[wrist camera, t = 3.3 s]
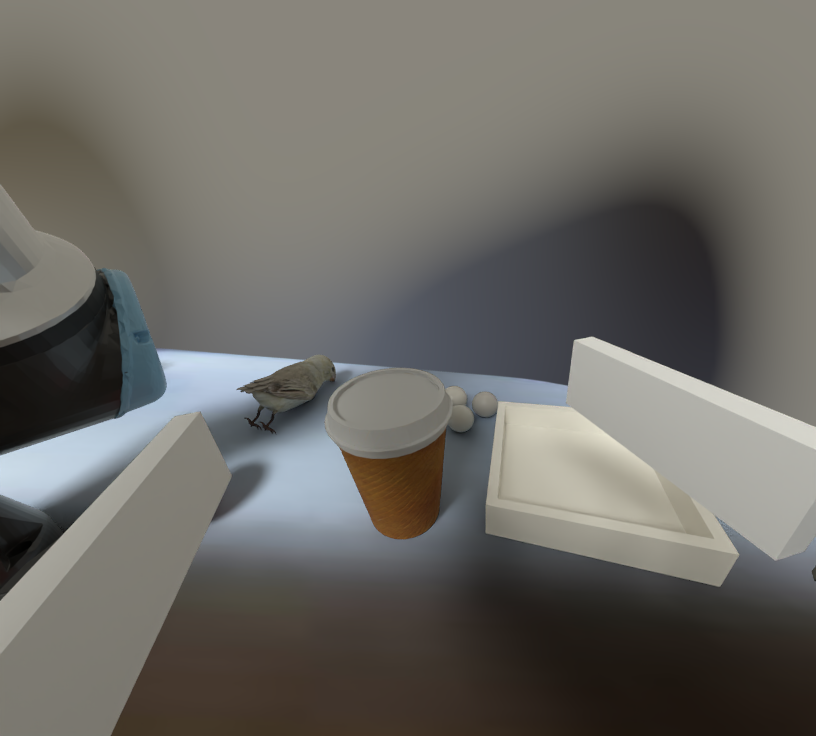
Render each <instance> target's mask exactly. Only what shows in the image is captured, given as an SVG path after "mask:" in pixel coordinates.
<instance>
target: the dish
mask: <svg viewBox="0 0 816 736" xmlns="http://www.w3.org/2000/svg"><path fill="white" fill-rule="evenodd" d="M485 533H486V534H491V535H495V536H500V537H504V538H508V539H513V540H517V541H521V542H526V543H530V544H534V545H539V546H543V547H548V548H552V549H556V550H561V551H565V552H569V553H574V554H578V555H582V556H587V557H591V558H596V559H600V560H604V561H609V562H613V563H617V564H622V565H626V566H630V567H635V568H639V569H644V570H648V571H652V572H657V573H661V574H665V575H670V576H674V577H679V578H683V579H687V580H692V581H696V582H700V583H705V584H709V585H713V586H718V587H720V586H721V585H722V583H723V581H724V580H725V578H726V576H727V575H728V573H729V571H730V570H731V568H732V566H733V565H734V563H735V561H736V560H737V558H738V556H739V553H738V552H737V550H736V549H735V547H734V546H733V544H732V542H731V541H730V539H729V538H728V536H727V535H726V533H725V531H724V530H723V528H722V527H721V525H720V523H719V522H718V520H717V519H716V517H715V516H714V514H713V513H711V512H710V511H709V510H707V509H706V508H705V507H703V506H702V505H701V504H699V503H698V502H697V501H695V500H694V499H693V498H691V497H690V496H689V495H687V494H686V493H685V492H684V491H682V490H681V489H680V488H678V487H677V486H676V485H674V484H673V483H672V482H670V481H669V480H668V479H666V478H665V477H664V476H662V475H661V474H660V473H658V472H657V471H656V470H654V469H653V468H652V467H650V466H649V465H648V464H646V463H645V462H644V461H642V460H641V459H640V458H638V457H637V456H636V455H634V454H633V453H632V452H630V451H629V450H628V449H626V448H625V447H624V446H622V445H621V444H620V443H618V442H617V441H616V440H614V439H613V438H612V437H610V436H609V435H608V434H606V433H605V432H604V431H603V430H601V429H600V428H599V427H597V426H596V425H595V424H593V423H592V422H591V421H589V420H588V419H587V418H585V417H584V416H583V415H581V414H580V413H579V412H577V411H576V410H575V409H573V408H572V407H562V406H550V405H538V404H526V403H513V402H501V401H498V409H497V417H496V425H495V433H494V442H493V450H492V458H491V466H490V474H489V482H488V490H487V499H486V532H485Z"/></svg>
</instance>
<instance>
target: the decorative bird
mask: <svg viewBox="0 0 816 736" xmlns="http://www.w3.org/2000/svg"><path fill="white" fill-rule="evenodd" d="M335 378H336V372H335V367H334V365H333V363H332V361H330V359H329V358H327V357H325V356H323V355H315V356H312V357H310V358H308V359H306V360H305V361H303V362H299V363H295V364H292V365H290V366H287V367H284V368H282V369H280V370H278V371H276V372H275V373H273V374H272V375H270V376H267V377H264V378H261V379H258V380H255V381H254V383H253V382H251V383H250V384H247V385H243V386H244V387H241V388H238V389H237V390H242V391H241V392H244V391H245V392H246V393H249V394H250V393H252V394H253V397H254V398H255V399H256V400H257V401H258V402H259V404H260V406H259V408H258V413H257V416H256V417H255V419H254V420H253V421H251V420H250V419H249V418H245V419H247V420H248V421H249V424H250V425H251V427H252V426H256V427H257V428H258V427H259V428H260V429H261V427H260V426H259V425H257V424H255V423H254V422H255V421H256V419H257V418H258V417H259V415H260V411H261V410H262V409H263V408H264V407H265V408H267V409H268V410H271V411H273V412H272V413H273V414H272V417H271V420H270V421H269V423H268V424H267V425H265V424H264V423H263V422H260V423H262V425H263V428H264V429H265V430H270V431H271V432H272V431H274V430H273V429H271V428H269V427H268V426H269V425H270V424H271V422H272V421H273V419H274V415H275V414H276V413H282V412H285V411H287V410H290V409H292V408H295V407H297V406H299V405H301V404H303V403H305V402H306V401H310V400H312V399H313V398H314V396H315V394H316V393H317V391H318V390H319V388H320V387H321V386H322V384H323V382H324V381H335ZM274 432H275V431H274ZM272 434H273V432H272ZM275 434H276V432H275Z"/></svg>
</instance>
